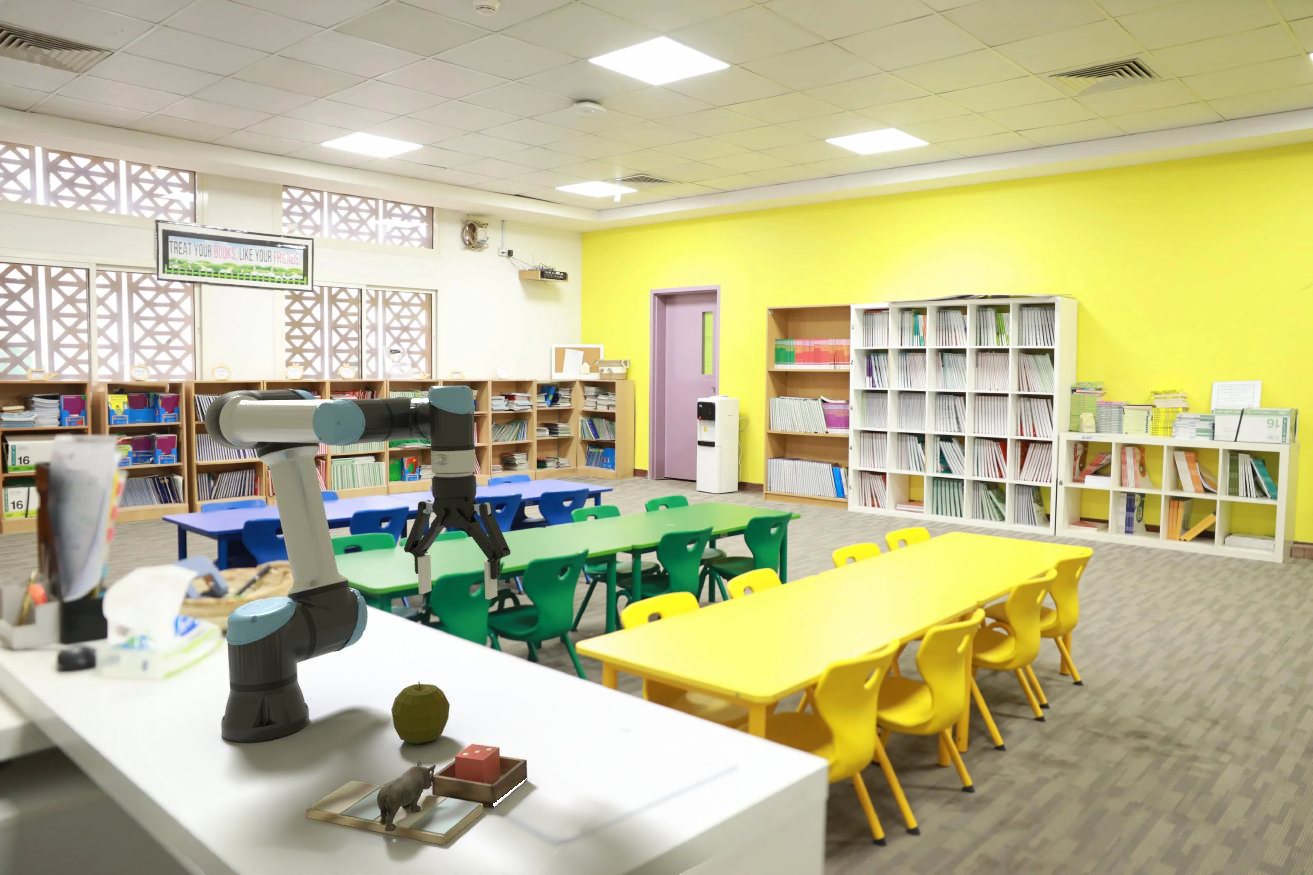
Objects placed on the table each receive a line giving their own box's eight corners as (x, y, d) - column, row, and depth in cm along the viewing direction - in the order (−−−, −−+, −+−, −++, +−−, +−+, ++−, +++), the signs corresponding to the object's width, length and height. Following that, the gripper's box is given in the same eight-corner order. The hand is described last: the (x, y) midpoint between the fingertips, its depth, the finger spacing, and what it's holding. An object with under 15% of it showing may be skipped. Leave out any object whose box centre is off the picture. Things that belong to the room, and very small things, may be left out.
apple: (396, 755, 152) (393, 693, 152) (389, 735, 161) (387, 676, 161) (454, 745, 156) (452, 684, 156) (445, 726, 165) (442, 668, 165)
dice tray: (432, 797, 137) (431, 776, 136) (468, 770, 146) (467, 750, 146) (494, 808, 133) (493, 786, 132) (527, 779, 142) (526, 759, 142)
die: (456, 787, 138) (454, 756, 137) (472, 773, 142) (471, 743, 142) (484, 791, 136) (483, 760, 136) (500, 777, 141) (499, 747, 140)
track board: (306, 817, 131) (306, 808, 131) (352, 787, 140) (352, 779, 140) (443, 844, 122) (443, 834, 122) (483, 811, 132) (482, 802, 132)
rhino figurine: (447, 790, 136) (446, 751, 135) (395, 833, 123) (393, 791, 122) (424, 786, 137) (423, 748, 137) (369, 829, 124) (368, 788, 124)
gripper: (380, 475, 155) (385, 594, 156) (505, 478, 146) (509, 605, 147) (407, 470, 162) (411, 585, 163) (527, 473, 153) (531, 594, 154)
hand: (457, 595), depth 155 cm, fingers open, 13 cm apart
